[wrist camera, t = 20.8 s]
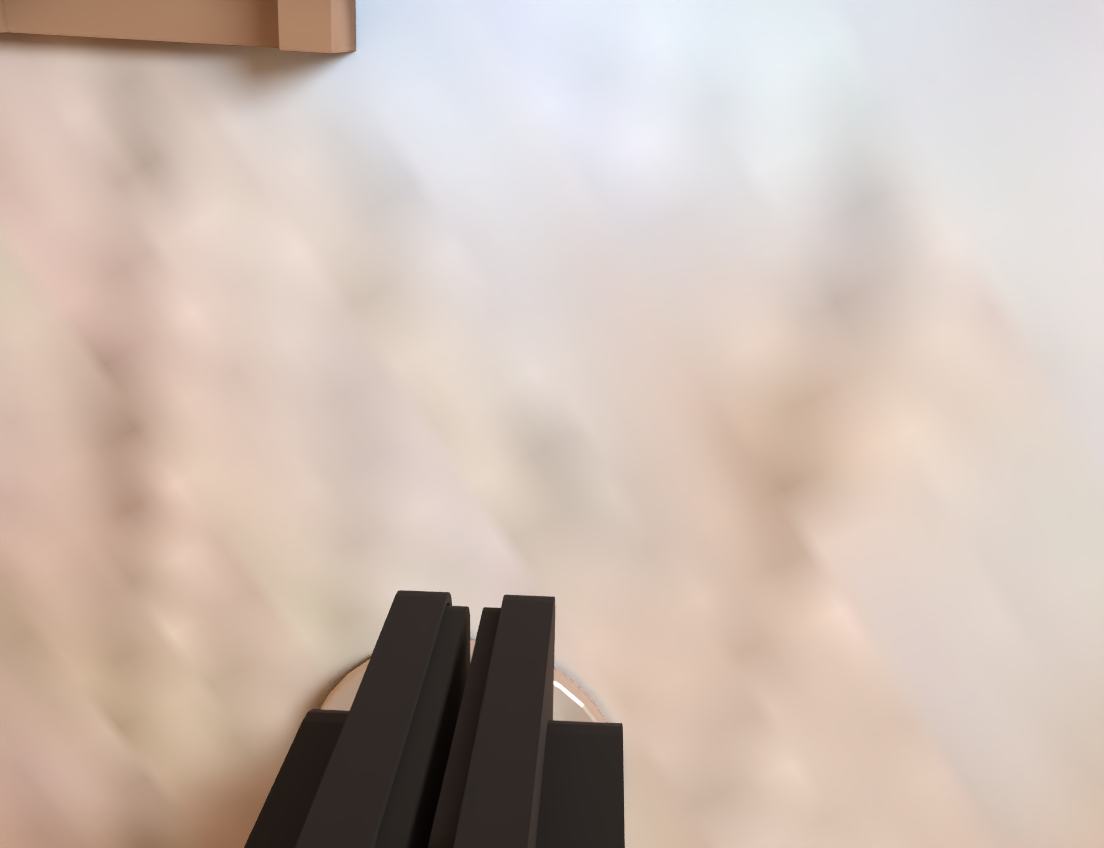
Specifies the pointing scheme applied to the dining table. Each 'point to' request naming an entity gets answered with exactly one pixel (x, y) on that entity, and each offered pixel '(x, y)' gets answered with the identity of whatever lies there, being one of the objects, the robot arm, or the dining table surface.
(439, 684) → the robot arm
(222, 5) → the brown wooden tray
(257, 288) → the dining table surface
